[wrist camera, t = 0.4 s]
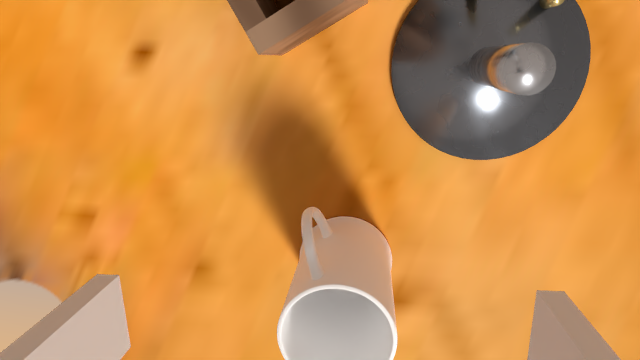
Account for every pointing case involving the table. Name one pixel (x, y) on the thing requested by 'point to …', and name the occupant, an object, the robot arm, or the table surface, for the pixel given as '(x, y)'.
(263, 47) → the collar
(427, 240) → the table surface
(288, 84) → the table surface
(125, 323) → the robot arm
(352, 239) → the mug
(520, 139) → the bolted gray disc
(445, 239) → the table surface
